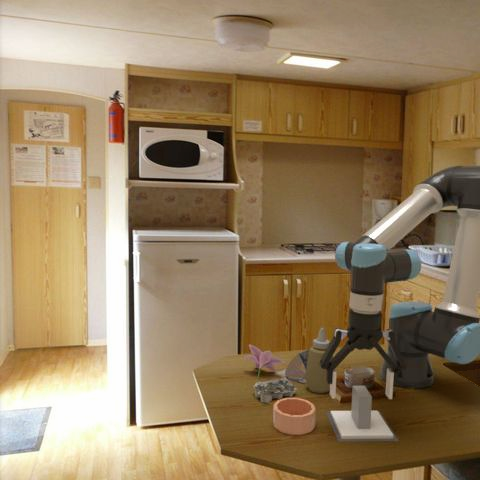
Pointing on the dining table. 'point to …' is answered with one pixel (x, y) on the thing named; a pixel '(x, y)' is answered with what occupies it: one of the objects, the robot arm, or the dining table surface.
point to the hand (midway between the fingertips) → (360, 396)
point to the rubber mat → (358, 439)
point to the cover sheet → (361, 433)
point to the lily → (263, 359)
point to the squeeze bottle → (317, 365)
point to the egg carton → (277, 385)
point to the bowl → (294, 416)
